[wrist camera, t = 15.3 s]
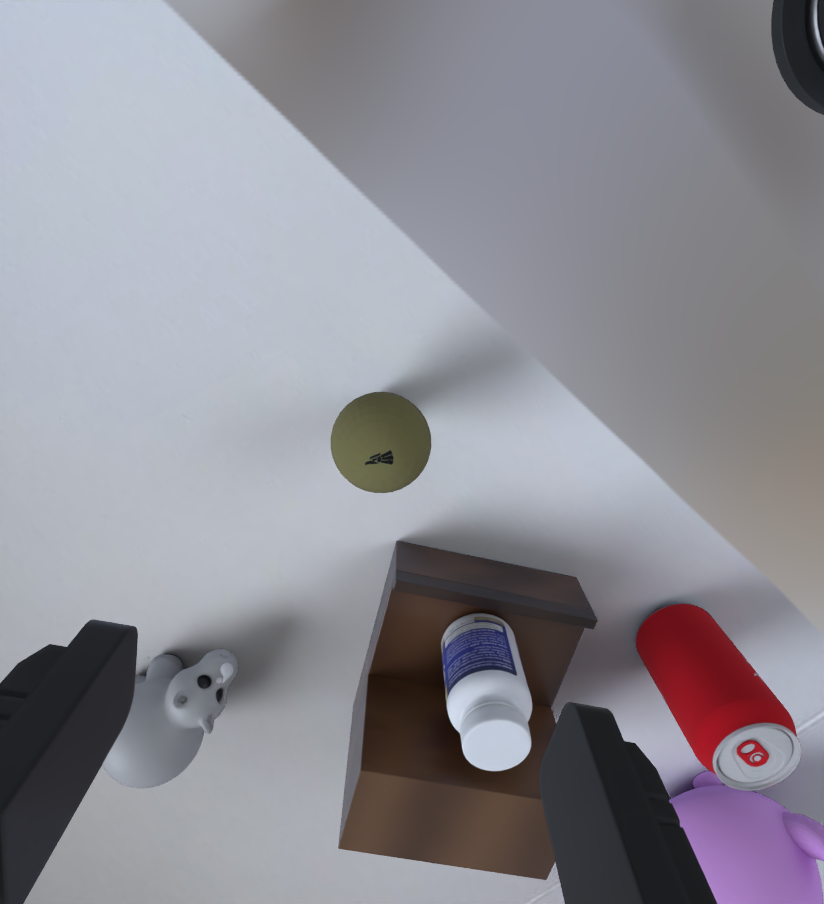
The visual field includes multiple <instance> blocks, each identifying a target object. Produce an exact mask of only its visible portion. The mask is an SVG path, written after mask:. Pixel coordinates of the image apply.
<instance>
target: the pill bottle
mask: <svg viewBox="0 0 824 904" xmlns="http://www.w3.org/2000/svg"><path fill="white" fill-rule="evenodd" d="M441 650H442V661H443V672H444V682H445V695H446V705H447V711H448V716H449V718H450V721H451V723H452V725H453V726H454V728H455V729H456V730H457V731H458V732H459V733H460V736H461V744H462V750H463V753H464V755H465V757H466V759H467V760H468V761H469V762H470V763H471V764H472V765H474V766H476V767H478V768H480V769H483V770H488V771H502V770H506V769H509V768H512V767H514V766H516V765H518V764H519V763H521V762H522V761H523V760H524V759H525V758H526V757H527V755H528V754H529V752H530V749H531V736H530V731H529V726H528V723H527V722H528V721H529V719H530V716H531V713H532V699H531V694H530V690H529V687H528V683H527V680H526V676H525V673H524V669H523V666H522V662H521V658H520V654H519V650H518V647H517V643H516V639H515V636H514V633H513V631H512V629H511V628H510V626H509V625H508V624H507V623H506V622H505V621H504V620H502V619H500V618H499V617H497V616H494V615H491V614H485V613H475V614H470V615H466V616H463V617H461V618H459V619H457V620H456V621H454V622H453V623H452V624H451V625H450V626H449V627H448V628H447V630H446V631H445V633H444V635H443V638H442V642H441Z"/></svg>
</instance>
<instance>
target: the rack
mask: <svg viewBox="0 0 824 904" xmlns="http://www.w3.org/2000/svg"><path fill="white" fill-rule="evenodd" d="M475 613H485V614H491V615H494V616H497V617H499V618H500V619H502V620H504V621H505V622H506V623H507V624H508V625H509V626H510V628H511V629H512V631H513V633H514V636H515V639H516V643H517V647H518V650H519V654H520V658H521V662H522V666H523V669H524V673H525V676H526V680H527V683H528V687H529V690H530V694H531V699H532V713H531V716H530V719H529V721H528V722H527V723H528V726H529V731H530V736H531V749H530V752H529V754H528V755H527V757H526V758H525V759H524V760H523V761H522V762H521V763H519V764H518V765H516V766H514V767H512V768H509V769H506V770H502V771H488V770H483V769H480V768H478V767H476V766H474V765H472V764H471V763H470V762H469V761H468V760H467V759H466V757H465V755H464V753H463V750H462V744H461V736H460V733H459V732H458V731H457V730H456V729H455V728H454V726H453V725H452V723H451V721H450V718H449V716H448V711H447V705H446V695H445V682H444V672H443V661H442V650H441V642H442V638H443V635H444V633H445V631H446V630H447V628H448V627H449V626H450V625H451V624H452V623H453V622H454V621H456V620H457V619H459V618H461V617H463V616H466V615H470V614H475ZM596 623H597V618H596V616H595V614H594V612H593V610H592V608H591V606H590V604H589V602H588V600H587V598H586V596H585V594H584V592H583V590H582V588H581V586H580V584H579V582H578V580H577V578H576V577H572V576H567V575H562V574H557V573H552V572H547V571H542V570H537V569H533V568H528V567H523V566H518V565H513V564H508V563H503V562H498V561H493V560H488V559H483V558H479V557H474V556H469V555H464V554H459V553H454V552H449V551H444V550H439V549H434V548H430V547H425V546H420V545H415V544H410V543H405V542H400V541H396V545H395V548H394V552H393V556H392V560H391V564H390V568H389V571H388V575H387V579H386V583H385V587H384V590H383V594H382V598H381V602H380V606H379V610H378V613H377V617H376V621H375V625H374V629H373V632H372V636H371V640H370V644H369V648H368V651H367V655H366V659H365V663H364V667H363V670H362V674H361V678H360V682H359V686H358V690H357V693H356V697H355V701H354V705H353V713H352V723H351V732H350V742H349V751H348V761H347V770H346V780H345V789H344V799H343V808H342V818H341V827H340V837H339V846H338V848H339V849H344V850H351V851H357V852H364V853H371V854H377V855H384V856H391V857H397V858H404V859H411V860H417V861H424V862H430V863H437V864H444V865H450V866H457V867H464V868H470V869H477V870H484V871H490V872H497V873H503V874H510V875H517V876H523V877H530V878H537V879H543V880H546V879H547V877H548V875H549V873H550V871H551V869H552V867H553V865H554V863H555V857H554V853H553V848H552V844H551V840H550V835H549V831H548V827H547V822H546V818H545V813H544V809H543V805H542V800H541V795H540V786H539V777H540V767H541V763H542V759H543V756H544V754H545V751H546V749H547V746H548V744H549V742H550V739H551V737H552V734H553V732H554V729H555V727H556V722H555V719H554V715H553V712H552V709H551V706H552V704H553V702H554V699H555V697H556V694H557V692H558V690H559V687H560V685H561V682H562V680H563V678H564V675H565V673H566V671H567V668H568V666H569V663H570V661H571V659H572V656H573V654H574V651H575V649H576V647H577V644H578V642H579V639H580V637H581V635H582V632H583V630H584V628H589V629H594V627H595V625H596Z"/></svg>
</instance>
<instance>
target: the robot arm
mask: <svg viewBox="0 0 824 904" xmlns="http://www.w3.org/2000/svg"><path fill="white" fill-rule="evenodd" d="M805 28H806V35H807V40H808V44H809V47H810V50H811V53H812V55H813V57H814V59H815V61H816V63H817V64H818V66H819V67H820V68H821V70H822V71H823V72H824V0H806V7H805ZM137 639H138V633H137V628H136V627H134V626H129V625H123V624H117V623H111V622H105V621H99V620H90V621H89V622H87V623H86V624H85V626H84V627H83V628H82V629H81V630H80V632H79V633H78V634H77V635H76V637H75V638H74V639H73V640H72V642H71V643H70V644H69V645H68V647H63V646H57V645H51V644H49V645H47V646H46V647H44V648H43V649H41V650H39V651H38V652H36V653H34V654H33V655H31V656H29V657H28V658H26V659H25V660H23V661H21V662H20V663H18V664H17V665H16V666H15V668H14V669H13V670H12V671H11V672H10V673H9V674H8V675H7V677H6V678H5V679H4V680H3V681H2V682H1V683H0V904H23V903H24V901H25V899H26V898H27V896H28V894H29V892H30V891H31V889H32V887H33V885H34V884H35V882H36V880H37V878H38V877H39V875H40V873H41V871H42V870H43V868H44V866H45V864H46V862H47V861H48V859H49V857H50V855H51V854H52V852H53V850H54V848H55V847H56V845H57V843H58V841H59V840H60V838H61V836H62V834H63V833H64V831H65V829H66V827H67V826H68V824H69V822H70V820H71V818H72V817H73V815H74V813H75V811H76V810H77V808H78V806H79V804H80V803H81V801H82V799H83V797H84V796H85V794H86V792H87V790H88V789H89V787H90V785H91V783H92V782H93V780H94V778H95V776H96V774H97V773H98V771H99V769H100V767H101V766H102V764H103V762H104V760H105V759H106V757H107V755H108V753H109V752H110V750H111V748H112V746H113V745H114V743H115V741H116V739H117V738H118V736H119V734H120V732H121V730H122V729H123V727H124V724H125V722H126V720H127V717H128V715H129V712H130V709H131V705H132V701H133V697H134V689H135V672H136V656H137ZM539 786H540V795H541V800H542V805H543V809H544V813H545V818H546V822H547V827H548V831H549V835H550V840H551V844H552V848H553V853H554V857H555V861H556V866H557V870H558V875H559V879H560V883H561V888H562V892H563V896H564V901H565V904H717V902H716V899H715V897H714V895H713V893H712V890H711V888H710V886H709V884H708V882H707V879H706V877H705V875H704V873H703V871H702V868H701V866H700V864H699V862H698V860H697V857H696V855H695V853H694V851H693V849H692V846H691V844H690V842H689V840H688V838H687V835H686V833H685V831H684V829H683V827H680V820H679V818H678V815H677V813H676V811H675V809H674V807H673V804H672V803H670V802H669V796H668V793H667V791H666V789H665V787H664V785H663V782H662V780H661V778H660V776H659V774H658V771H657V769H656V768H655V767H654V766H653V764H652V763H651V762H650V761H649V759H648V758H647V757H646V756H645V755H644V753H643V752H642V751H641V750H640V749H639V747H638V746H637V745H636V744H635V743H631V742H625V741H624V740H623V738H622V735H621V733H620V730H619V728H618V726H617V723H616V721H615V718H614V716H613V714H612V713H611V711H610V710H608V709H606V708H601V707H595V706H589V705H583V704H577V703H571V702H569V703H567V704H566V705H565V706H564V707H563V710H562V712H561V714H560V717H559V719H558V722H557V724H556V727H555V729H554V732H553V734H552V737H551V739H550V742H549V744H548V746H547V749H546V751H545V754H544V756H543V759H542V763H541V767H540V777H539Z"/></svg>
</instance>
